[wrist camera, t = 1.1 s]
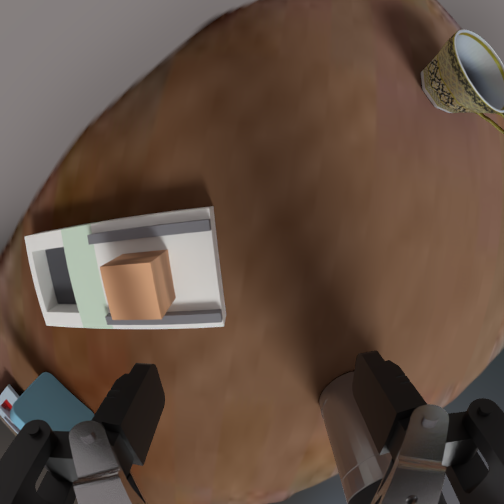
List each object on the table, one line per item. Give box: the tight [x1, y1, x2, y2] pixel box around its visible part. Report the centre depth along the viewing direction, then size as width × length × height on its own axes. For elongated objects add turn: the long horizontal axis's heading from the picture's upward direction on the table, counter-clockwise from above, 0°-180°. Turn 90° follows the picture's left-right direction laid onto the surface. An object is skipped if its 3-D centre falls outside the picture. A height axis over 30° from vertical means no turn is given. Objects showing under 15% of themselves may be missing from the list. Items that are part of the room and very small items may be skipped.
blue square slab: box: [10, 372, 94, 431], centre depth 29 cm, size 12×4×12 cm, turn 44°
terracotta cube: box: [100, 249, 176, 320], centre depth 24 cm, size 5×5×5 cm
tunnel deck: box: [25, 206, 226, 329], centre depth 28 cm, size 24×12×4 cm, turn 95°
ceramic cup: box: [421, 29, 504, 134], centre depth 20 cm, size 13×10×10 cm
